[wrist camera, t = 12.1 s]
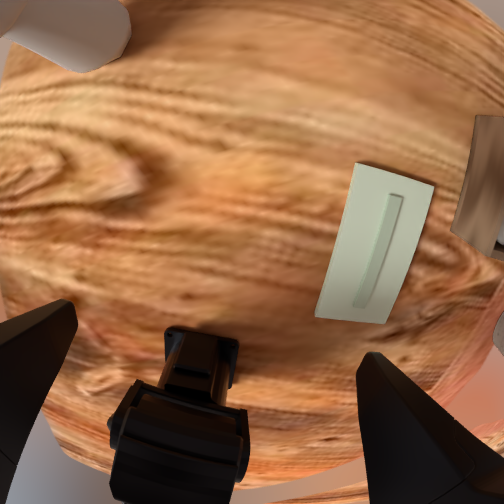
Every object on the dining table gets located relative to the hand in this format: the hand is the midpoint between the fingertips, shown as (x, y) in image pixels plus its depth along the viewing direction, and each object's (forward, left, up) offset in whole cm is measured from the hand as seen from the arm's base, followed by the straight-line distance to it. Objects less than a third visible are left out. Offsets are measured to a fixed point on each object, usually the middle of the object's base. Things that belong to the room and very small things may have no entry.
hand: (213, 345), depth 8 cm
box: (+7, -19, -13) cm, 24 cm away
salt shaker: (+12, +12, -13) cm, 21 cm away
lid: (-1, -10, -14) cm, 17 cm away
